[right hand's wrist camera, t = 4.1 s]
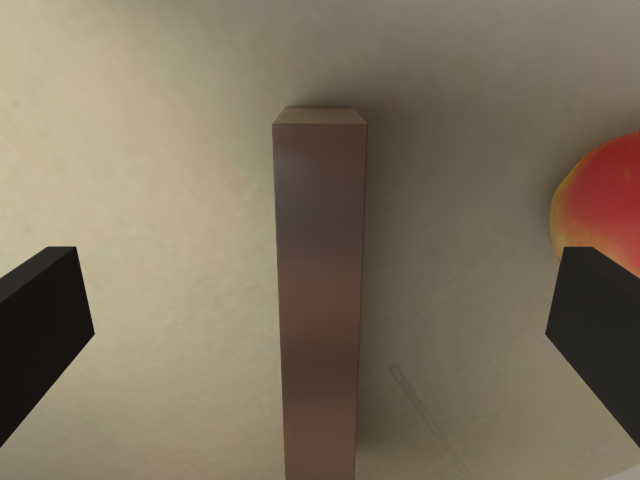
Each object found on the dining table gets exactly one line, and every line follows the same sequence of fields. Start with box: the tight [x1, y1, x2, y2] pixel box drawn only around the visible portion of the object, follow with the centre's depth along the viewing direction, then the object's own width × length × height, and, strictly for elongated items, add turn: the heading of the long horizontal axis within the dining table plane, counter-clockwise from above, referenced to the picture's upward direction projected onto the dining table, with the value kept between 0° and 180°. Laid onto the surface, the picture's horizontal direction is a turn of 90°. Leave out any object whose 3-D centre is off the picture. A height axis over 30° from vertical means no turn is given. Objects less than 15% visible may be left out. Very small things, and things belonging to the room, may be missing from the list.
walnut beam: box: [272, 107, 368, 480], centre depth 27 cm, size 26×4×8 cm, turn 0°
